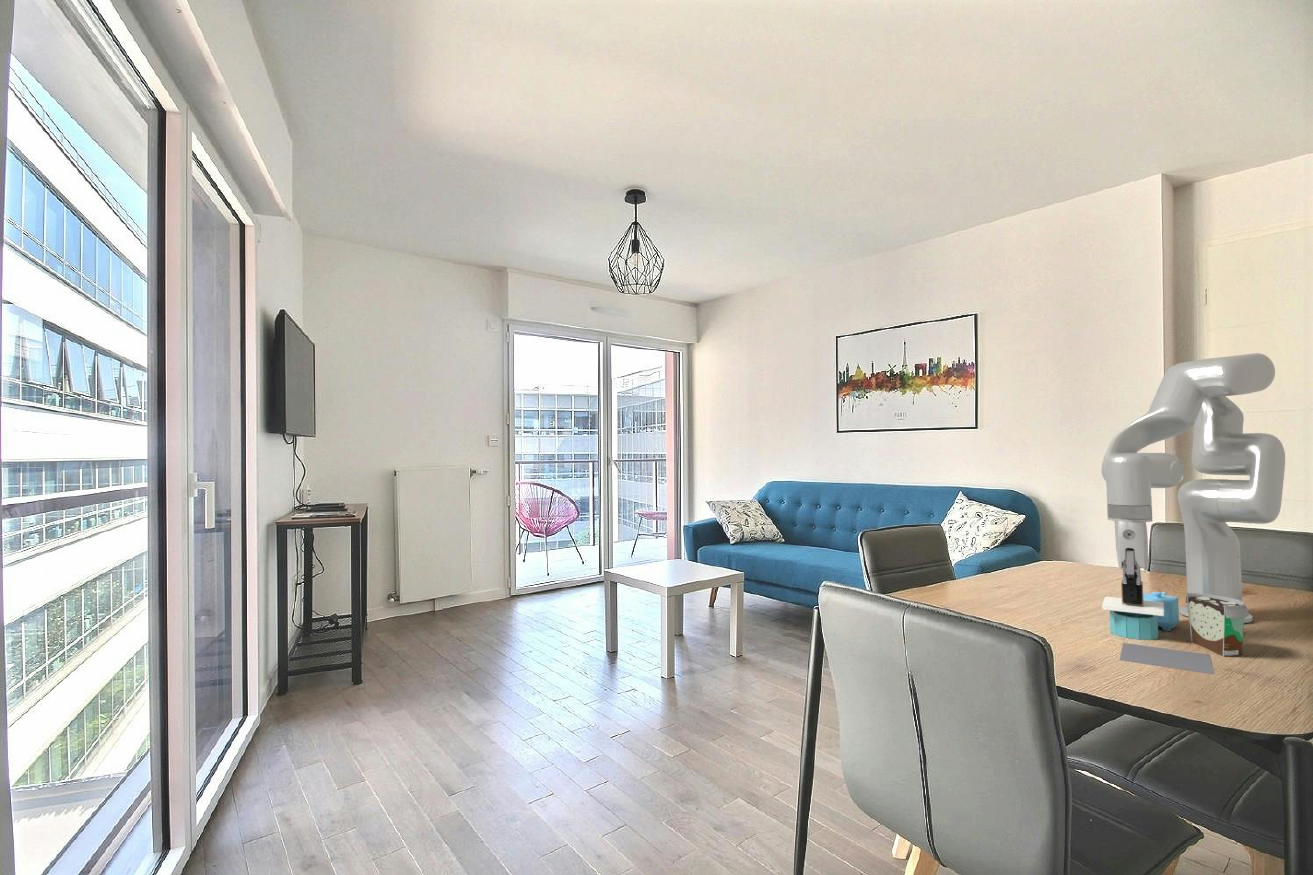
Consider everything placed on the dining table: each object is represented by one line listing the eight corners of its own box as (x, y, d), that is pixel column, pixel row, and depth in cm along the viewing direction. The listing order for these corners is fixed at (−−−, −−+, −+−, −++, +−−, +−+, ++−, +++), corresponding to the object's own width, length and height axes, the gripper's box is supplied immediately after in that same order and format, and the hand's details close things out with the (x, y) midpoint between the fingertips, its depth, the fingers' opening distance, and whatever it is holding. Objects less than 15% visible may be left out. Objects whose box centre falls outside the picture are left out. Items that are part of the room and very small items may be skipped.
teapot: (1148, 618, 146) (1147, 585, 146) (1182, 623, 141) (1181, 589, 141) (1135, 628, 138) (1134, 593, 138) (1170, 634, 133) (1169, 598, 134)
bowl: (1112, 629, 137) (1111, 607, 138) (1158, 635, 132) (1157, 612, 133) (1109, 637, 131) (1108, 615, 131) (1158, 644, 126) (1157, 620, 126)
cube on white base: (1163, 606, 133) (1162, 580, 133) (1163, 616, 125) (1162, 589, 125) (1105, 600, 139) (1104, 575, 139) (1101, 609, 131) (1100, 583, 132)
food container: (1268, 663, 114) (1266, 607, 114) (1229, 662, 115) (1226, 606, 116) (1222, 643, 126) (1220, 593, 127) (1187, 642, 127) (1184, 592, 128)
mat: (1123, 645, 126) (1123, 642, 126) (1209, 657, 118) (1209, 654, 118) (1119, 662, 116) (1119, 659, 116) (1213, 677, 108) (1213, 674, 108)
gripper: (1151, 517, 124) (1155, 612, 123) (1152, 510, 137) (1156, 596, 136) (1104, 516, 129) (1108, 607, 128) (1110, 509, 141) (1113, 592, 141)
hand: (1133, 600), depth 132 cm, fingers closed on cube on white base, 3 cm apart
